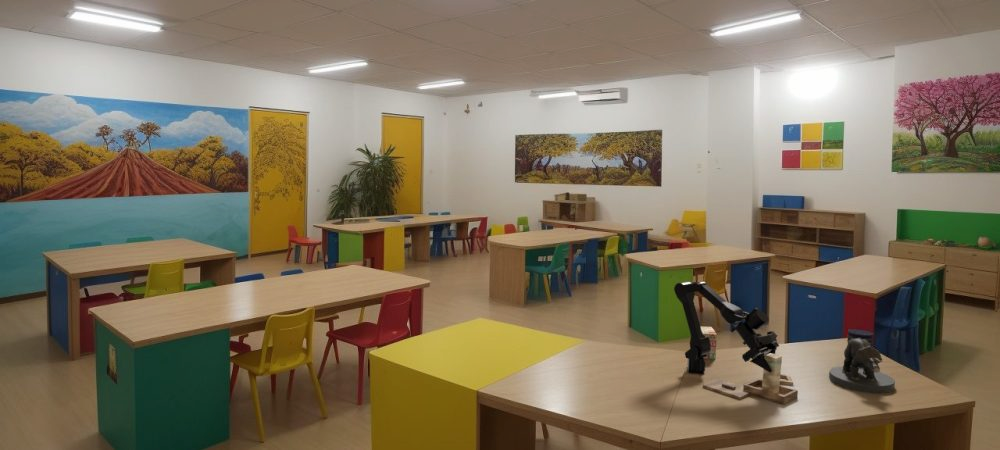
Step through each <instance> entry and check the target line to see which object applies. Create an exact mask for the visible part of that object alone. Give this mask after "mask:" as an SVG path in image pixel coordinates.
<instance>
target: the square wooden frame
mask: <svg viewBox="0 0 1000 450" xmlns="http://www.w3.org/2000/svg"><path fill="white" fill-rule="evenodd" d="M783 379H786V380H783ZM780 385H789V386H794V381H793V378H792V377H791V375H790V374H784V373H780Z"/></svg>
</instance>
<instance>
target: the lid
mask: <svg viewBox="0 0 1000 450" xmlns="http://www.w3.org/2000/svg"><path fill="white" fill-rule="evenodd" d="M743 387H744V386H742V385H738V384H736V383H732V382H728V381H726V380H723V379H719V378H717V379H714V380H711V381H709V382H706V383H703V384H702V388H704V389H707V390H710V391H713V392H716V393H719V394H722V395H725V396H728V397H731V398H734V399H737V400H742V399H744V398H746V397H749V396H752V395H751V392H750V391H747V390H743Z"/></svg>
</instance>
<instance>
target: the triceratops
mask: <svg viewBox="0 0 1000 450" xmlns="http://www.w3.org/2000/svg"><path fill="white" fill-rule="evenodd" d="M843 354H844V361H843V366H842V365H841V366H834V367H831V368H830V369H829V373H828V378H829V381H831V382H833V384H835V385H837V386H839V387H843V388H845V389H849V390H852V391H856V392H857V391H858V392H862V393H869V394H887V393H891V392H893V391H894V390H895V383H896V381H895V379H894V378H893V376H890V375H888V374H886V373H883V372H881V367H880V366H879V364H880V363H883V362H884V360H883V358H882V355H881V352H880V350H879V349H878V350H877V349H875V347H873V346H872V347H871V345H870V343H869V342H868V341H867V340H864V339H861V338H857V339H851V340H849V342H847V345H846V347H845V349H844V351H843ZM852 359H853V362H852ZM851 363H852V365H851ZM858 365H860V366H862V367H864V368H861V367H858Z"/></svg>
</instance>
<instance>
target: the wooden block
mask: <svg viewBox="0 0 1000 450" xmlns="http://www.w3.org/2000/svg"><path fill="white" fill-rule="evenodd" d="M764 358H765V360H766V361H767V363H768V365H769V366H770V368H771V370H772V372H768V371H766V370H765V369H763V368H762V369H763V371H762V380H763V382H762V389H763V390H766V391H769V392H772V393H775V394H779V385H781V384H780V380H781V378H780V374H782V373H781V372H782V371H781V370H782V361H783V360H782V359H783V357H782V355H779V354H776V353H775V354H772V353H769V354H767V355H765V357H764Z"/></svg>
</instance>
